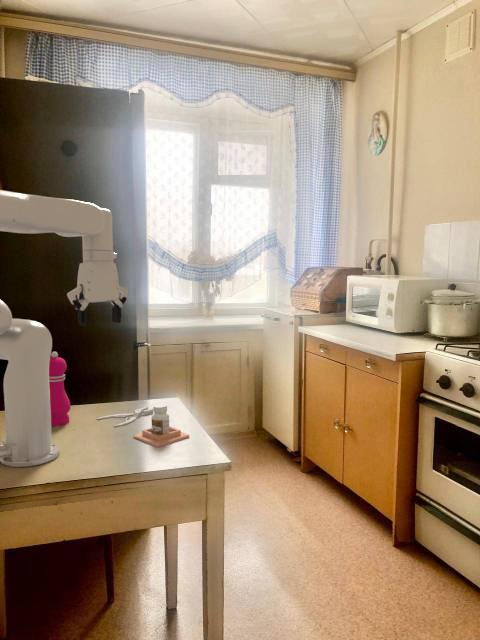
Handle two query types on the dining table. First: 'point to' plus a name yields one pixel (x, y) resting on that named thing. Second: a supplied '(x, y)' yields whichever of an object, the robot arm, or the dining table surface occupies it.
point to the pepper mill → (58, 391)
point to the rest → (161, 437)
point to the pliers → (134, 415)
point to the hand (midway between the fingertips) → (100, 323)
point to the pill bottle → (160, 419)
